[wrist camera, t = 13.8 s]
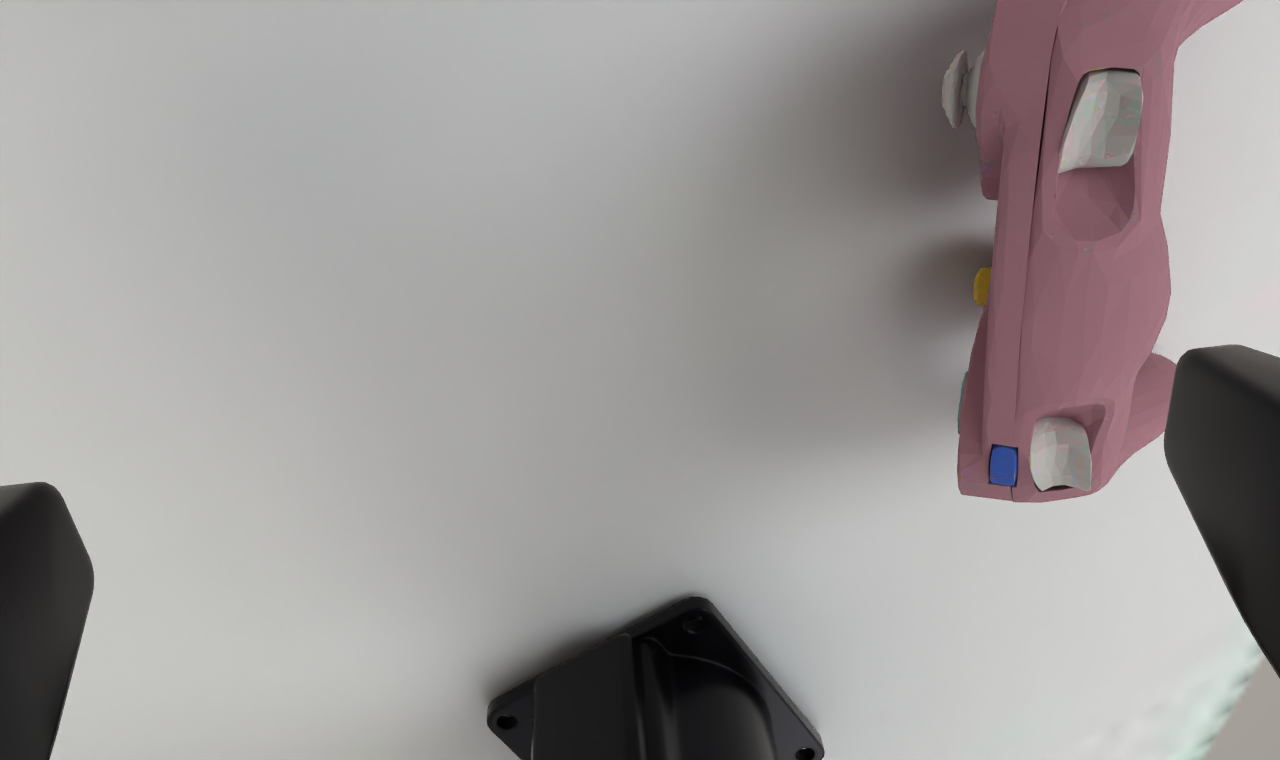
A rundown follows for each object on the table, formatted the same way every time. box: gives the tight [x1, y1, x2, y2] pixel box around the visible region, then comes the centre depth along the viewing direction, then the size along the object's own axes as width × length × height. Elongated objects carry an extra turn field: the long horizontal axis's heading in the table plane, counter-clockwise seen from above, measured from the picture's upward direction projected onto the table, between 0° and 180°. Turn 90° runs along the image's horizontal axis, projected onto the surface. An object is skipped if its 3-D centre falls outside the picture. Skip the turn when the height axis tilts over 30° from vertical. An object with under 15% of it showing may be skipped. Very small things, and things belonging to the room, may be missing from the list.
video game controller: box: [942, 0, 1243, 502], centre depth 20 cm, size 10×5×7 cm, turn 6°
